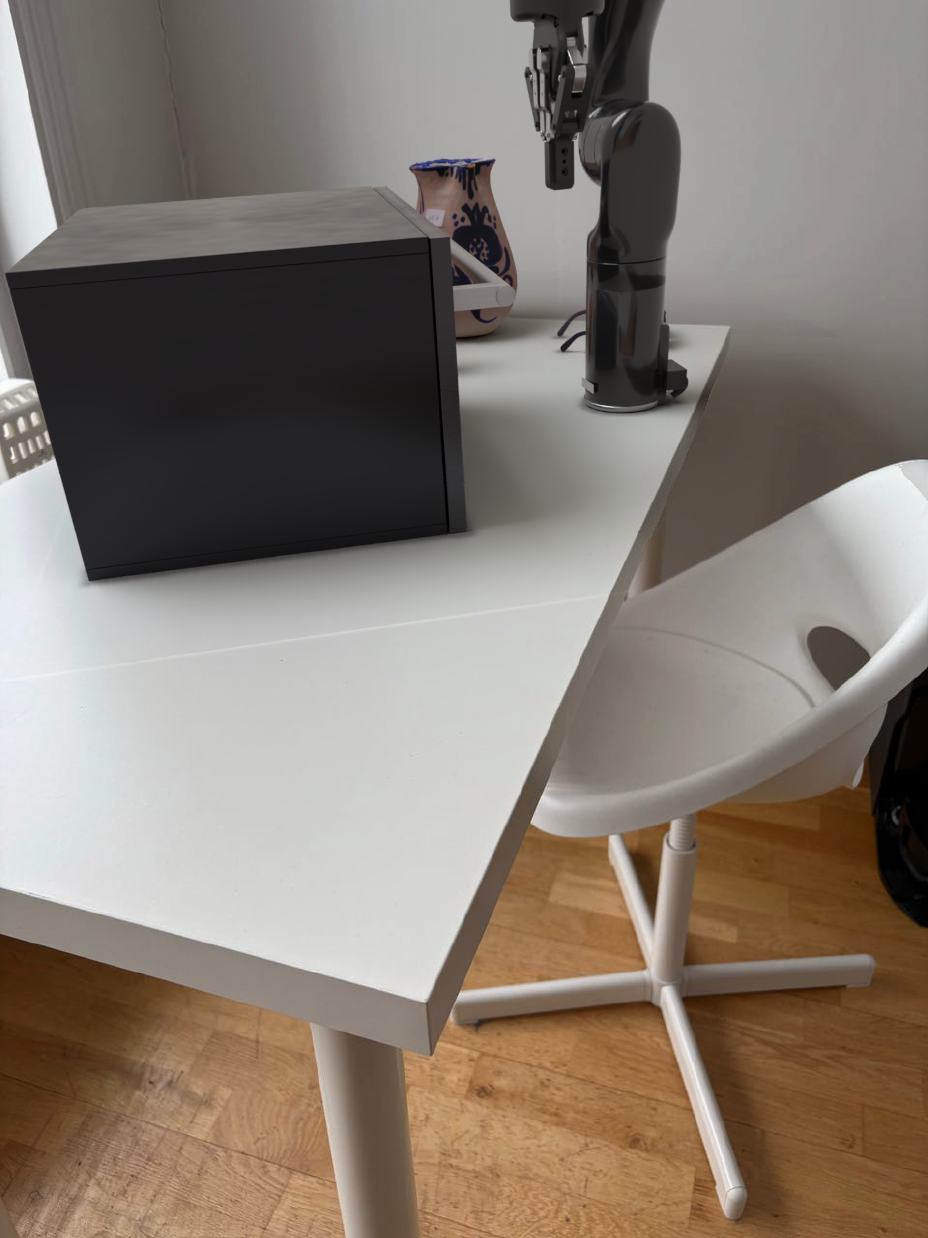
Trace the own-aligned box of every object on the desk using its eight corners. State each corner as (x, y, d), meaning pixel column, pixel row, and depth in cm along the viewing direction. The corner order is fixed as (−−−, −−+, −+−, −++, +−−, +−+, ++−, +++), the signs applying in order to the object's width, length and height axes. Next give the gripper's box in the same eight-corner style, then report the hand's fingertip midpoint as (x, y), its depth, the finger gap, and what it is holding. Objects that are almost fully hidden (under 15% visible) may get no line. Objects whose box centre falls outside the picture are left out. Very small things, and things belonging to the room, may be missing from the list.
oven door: (454, 399, 126) (441, 181, 113) (534, 522, 91) (528, 229, 79) (392, 406, 124) (372, 187, 112) (450, 533, 90) (430, 238, 77)
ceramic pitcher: (439, 352, 147) (427, 169, 134) (383, 326, 163) (368, 161, 151) (539, 333, 153) (536, 158, 141) (475, 310, 170) (468, 151, 158)
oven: (390, 407, 124) (370, 185, 112) (447, 535, 90) (427, 236, 77) (132, 436, 120) (80, 208, 107) (88, 582, 86) (4, 272, 73)
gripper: (631, -66, 71) (627, 192, 80) (576, -47, 82) (578, 177, 91) (531, -60, 70) (538, 201, 79) (490, -41, 81) (499, 185, 90)
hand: (559, 188), depth 85 cm, fingers closed
